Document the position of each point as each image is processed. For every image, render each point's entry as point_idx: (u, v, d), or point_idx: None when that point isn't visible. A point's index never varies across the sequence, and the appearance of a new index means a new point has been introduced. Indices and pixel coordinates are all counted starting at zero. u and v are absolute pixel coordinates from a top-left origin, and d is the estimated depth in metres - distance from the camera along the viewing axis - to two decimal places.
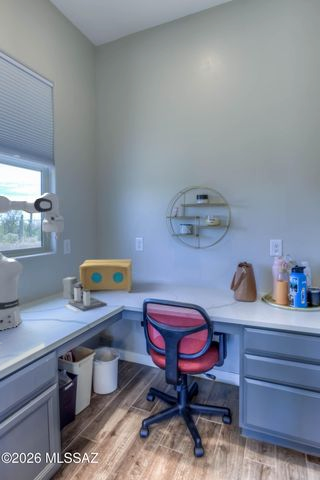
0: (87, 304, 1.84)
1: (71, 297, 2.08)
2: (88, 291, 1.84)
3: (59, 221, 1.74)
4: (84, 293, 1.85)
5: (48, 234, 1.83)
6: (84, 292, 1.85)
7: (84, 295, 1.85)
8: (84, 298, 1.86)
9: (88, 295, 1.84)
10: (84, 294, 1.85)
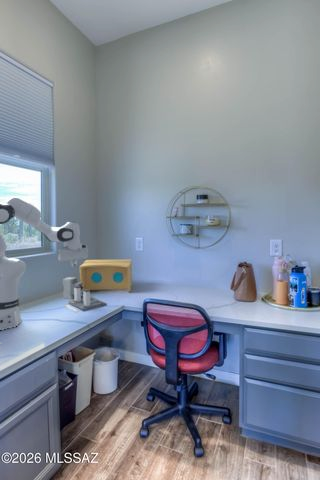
0: (87, 304, 1.84)
1: (71, 297, 2.08)
2: (88, 291, 1.84)
3: None
4: (84, 293, 1.85)
5: None
6: (84, 292, 1.85)
7: (84, 295, 1.85)
8: (84, 298, 1.86)
9: (88, 295, 1.84)
10: (84, 294, 1.85)
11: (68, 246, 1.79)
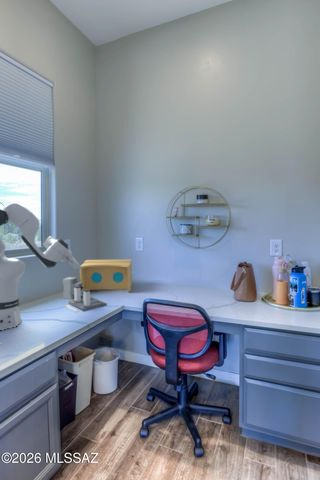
0: (87, 304, 1.84)
1: (71, 297, 2.08)
2: (88, 291, 1.84)
3: None
4: (84, 293, 1.85)
5: None
6: (84, 292, 1.85)
7: (84, 295, 1.85)
8: (84, 298, 1.86)
9: (88, 295, 1.84)
10: (84, 294, 1.85)
11: (67, 255, 1.73)
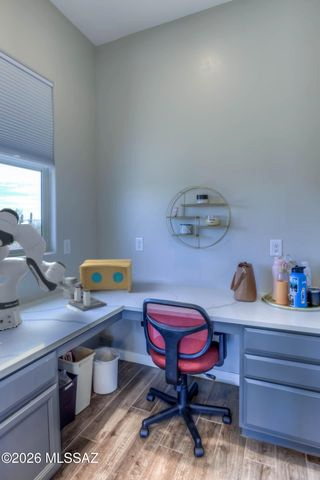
0: (87, 304, 1.84)
1: (71, 297, 2.08)
2: (88, 291, 1.84)
3: None
4: (84, 293, 1.85)
5: None
6: (84, 292, 1.85)
7: (84, 295, 1.85)
8: (84, 298, 1.86)
9: (88, 295, 1.84)
10: (84, 294, 1.85)
11: (61, 279, 1.68)
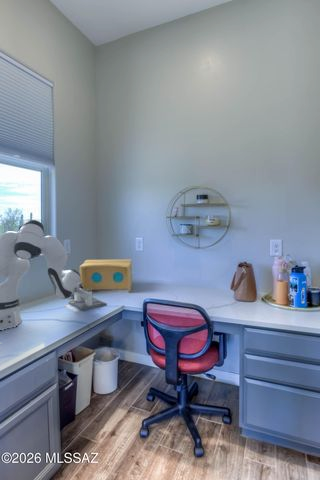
0: (89, 304, 1.85)
1: (71, 297, 2.08)
2: (90, 291, 1.85)
3: None
4: None
5: None
6: None
7: None
8: None
9: (90, 295, 1.85)
10: None
11: (76, 286, 1.75)
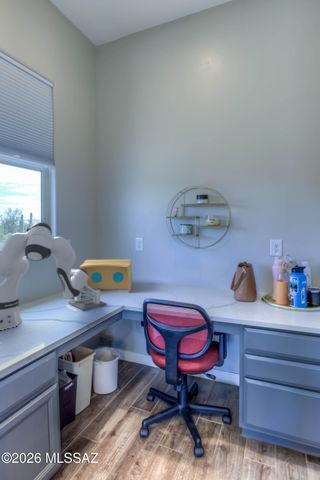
0: (97, 302, 1.89)
1: (71, 297, 2.08)
2: (98, 289, 1.89)
3: None
4: None
5: None
6: None
7: None
8: None
9: (98, 293, 1.90)
10: None
11: (84, 284, 1.80)
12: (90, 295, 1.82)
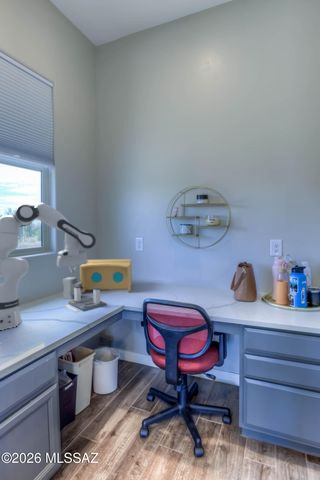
0: (97, 302, 1.89)
1: (71, 297, 2.08)
2: (98, 289, 1.89)
3: (58, 256, 1.75)
4: (94, 291, 1.90)
5: (74, 267, 1.82)
6: (94, 290, 1.90)
7: (94, 293, 1.90)
8: (93, 296, 1.91)
9: (98, 293, 1.90)
10: (94, 292, 1.90)
11: None
12: (81, 262, 1.83)
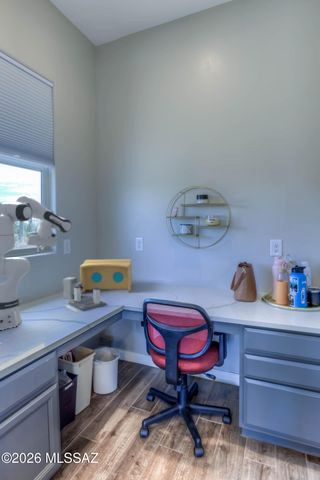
0: (97, 302, 1.89)
1: (71, 297, 2.08)
2: (98, 289, 1.89)
3: None
4: (94, 291, 1.90)
5: None
6: (94, 290, 1.90)
7: (94, 293, 1.90)
8: (93, 296, 1.91)
9: (98, 293, 1.90)
10: (94, 292, 1.90)
11: (38, 232, 1.87)
12: None
